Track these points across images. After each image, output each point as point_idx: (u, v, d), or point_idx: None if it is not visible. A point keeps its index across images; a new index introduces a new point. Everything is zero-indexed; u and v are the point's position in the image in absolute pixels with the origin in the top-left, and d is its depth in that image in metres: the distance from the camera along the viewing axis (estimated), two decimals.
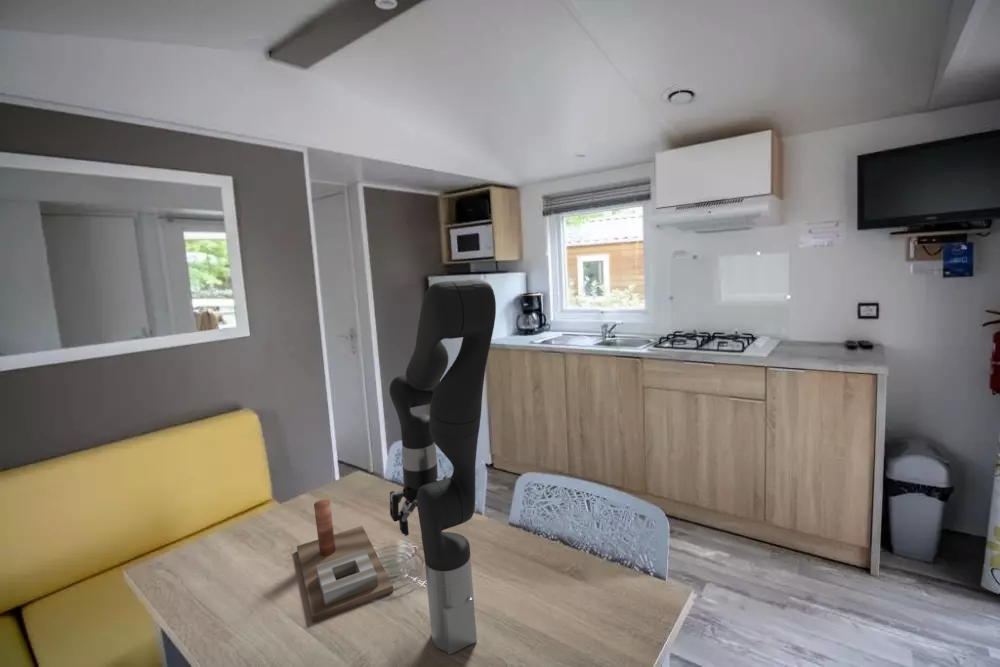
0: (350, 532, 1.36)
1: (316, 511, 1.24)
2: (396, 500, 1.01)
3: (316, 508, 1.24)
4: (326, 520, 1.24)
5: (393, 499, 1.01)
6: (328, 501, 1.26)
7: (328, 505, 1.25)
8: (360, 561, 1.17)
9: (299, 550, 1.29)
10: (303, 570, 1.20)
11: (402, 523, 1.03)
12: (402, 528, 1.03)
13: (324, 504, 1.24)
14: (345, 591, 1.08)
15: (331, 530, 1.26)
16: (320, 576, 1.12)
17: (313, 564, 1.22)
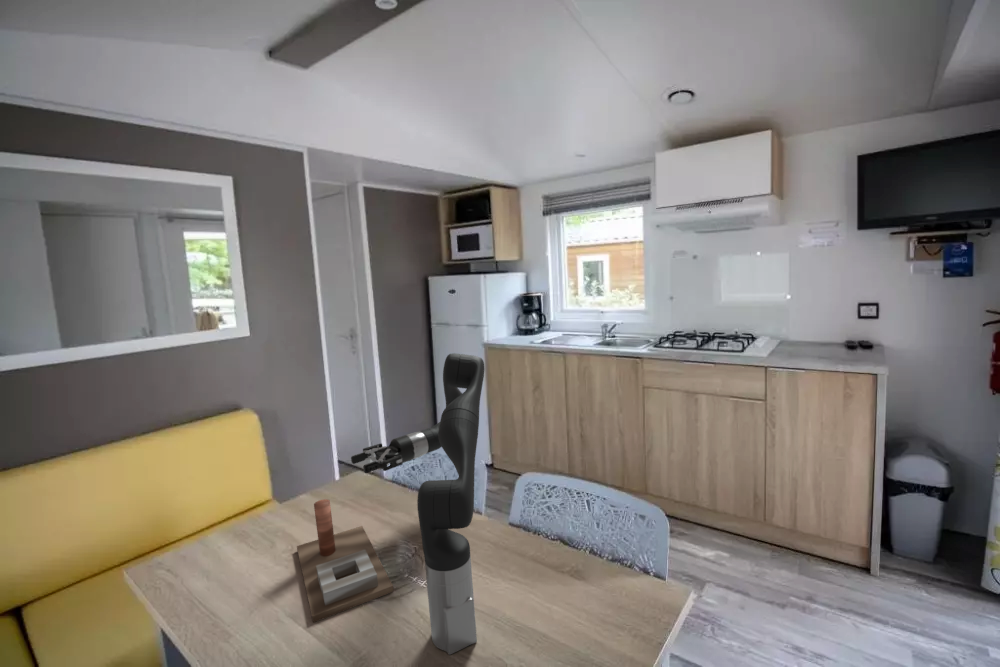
0: (350, 532, 1.36)
1: (316, 511, 1.24)
2: (378, 444, 1.41)
3: (316, 508, 1.24)
4: (326, 520, 1.24)
5: None
6: (328, 501, 1.26)
7: (328, 505, 1.25)
8: (360, 561, 1.17)
9: (299, 550, 1.29)
10: (303, 570, 1.20)
11: None
12: (356, 455, 1.36)
13: (324, 504, 1.24)
14: (345, 591, 1.08)
15: (331, 530, 1.26)
16: (320, 576, 1.12)
17: (313, 564, 1.22)
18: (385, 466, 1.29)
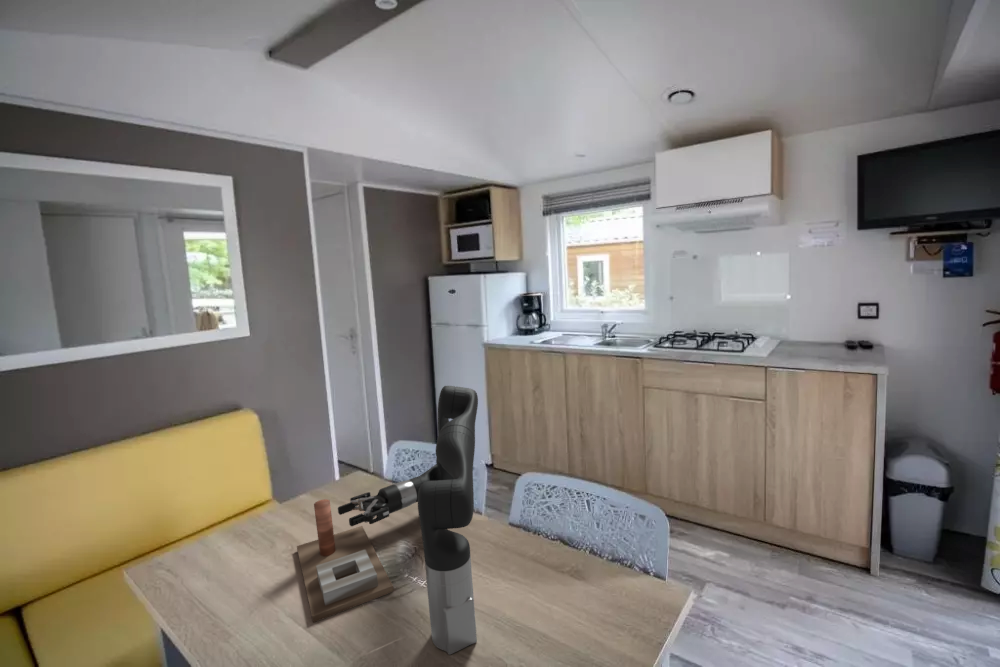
0: (350, 532, 1.36)
1: (316, 511, 1.24)
2: (366, 493, 1.40)
3: (316, 508, 1.24)
4: (326, 520, 1.24)
5: None
6: (328, 501, 1.26)
7: (328, 505, 1.25)
8: (360, 561, 1.17)
9: (299, 550, 1.29)
10: (303, 570, 1.20)
11: (348, 503, 1.35)
12: (344, 505, 1.34)
13: (324, 504, 1.24)
14: (345, 591, 1.08)
15: (331, 530, 1.26)
16: (320, 576, 1.12)
17: (313, 564, 1.22)
18: (371, 519, 1.27)
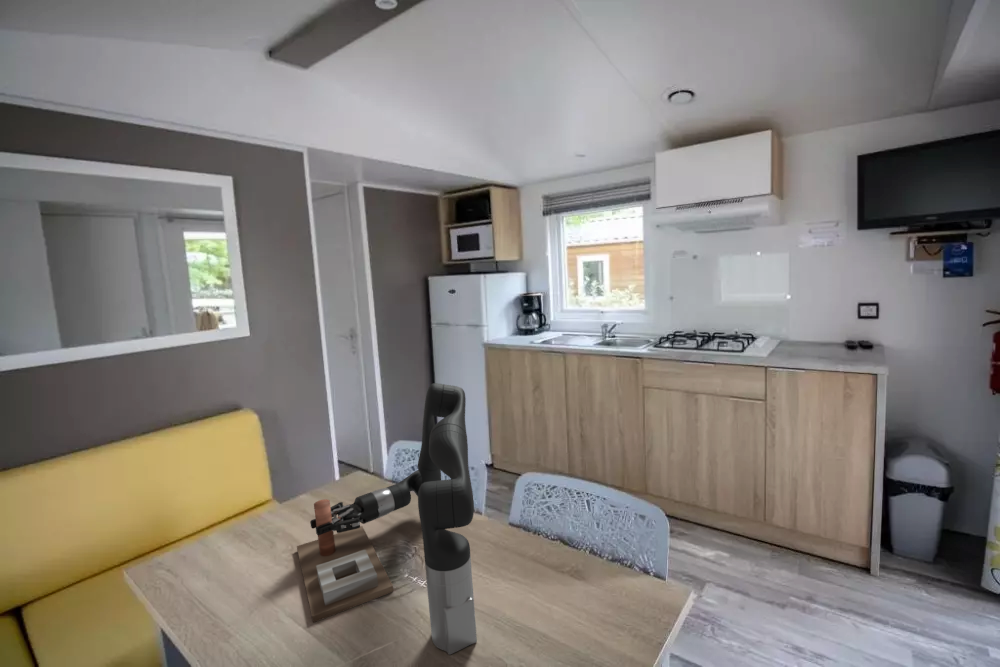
0: (350, 532, 1.36)
1: (316, 511, 1.24)
2: (339, 504, 1.34)
3: (316, 508, 1.24)
4: (326, 520, 1.24)
5: (338, 503, 1.35)
6: (328, 501, 1.26)
7: (328, 505, 1.25)
8: (360, 561, 1.17)
9: (299, 550, 1.29)
10: (303, 570, 1.20)
11: None
12: None
13: (324, 504, 1.24)
14: (345, 591, 1.08)
15: (331, 530, 1.26)
16: (320, 576, 1.12)
17: (313, 564, 1.22)
18: (339, 528, 1.23)
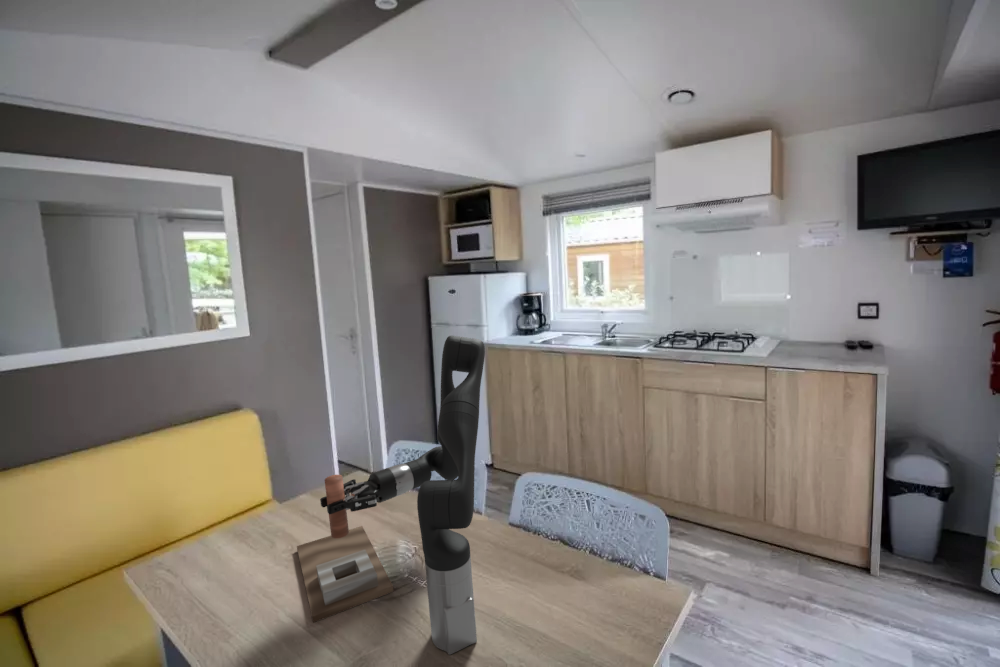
0: (350, 532, 1.36)
1: (327, 487, 1.09)
2: (352, 481, 1.20)
3: (327, 483, 1.09)
4: (339, 498, 1.10)
5: (351, 480, 1.20)
6: (340, 476, 1.11)
7: (341, 480, 1.10)
8: (360, 561, 1.17)
9: (299, 550, 1.29)
10: (303, 570, 1.20)
11: None
12: None
13: (336, 479, 1.10)
14: (345, 591, 1.08)
15: (344, 509, 1.11)
16: (320, 576, 1.12)
17: (313, 564, 1.22)
18: (353, 506, 1.09)
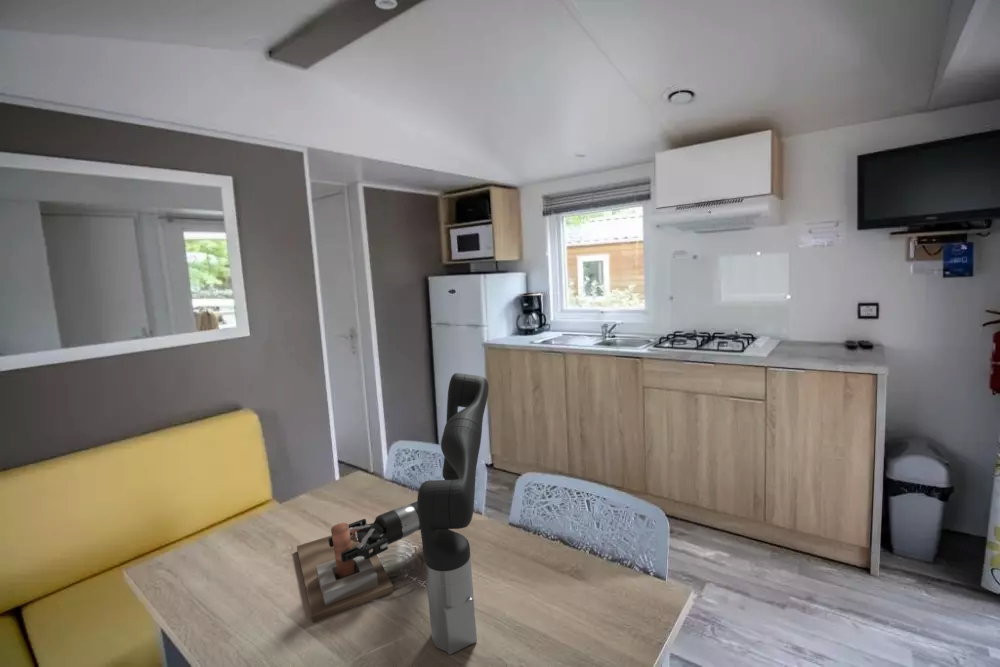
0: None
1: (334, 537, 1.11)
2: (362, 521, 1.22)
3: (333, 533, 1.11)
4: (345, 547, 1.11)
5: None
6: (347, 525, 1.13)
7: (347, 530, 1.12)
8: (360, 561, 1.17)
9: (299, 550, 1.29)
10: (303, 570, 1.20)
11: None
12: None
13: (342, 529, 1.11)
14: (345, 591, 1.08)
15: None
16: (320, 576, 1.12)
17: (313, 564, 1.22)
18: (367, 554, 1.09)
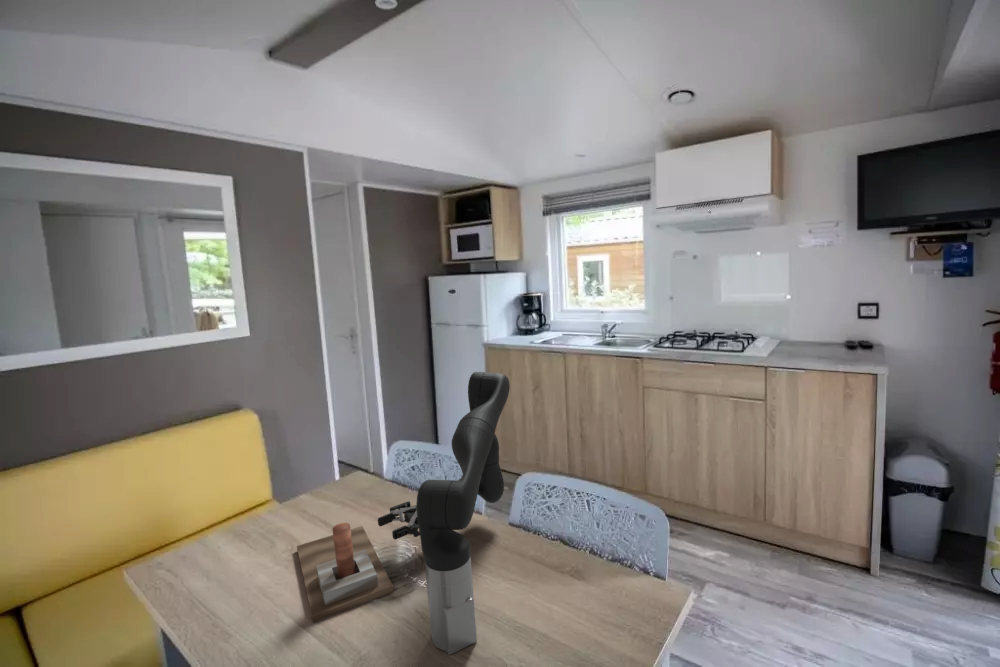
0: None
1: (335, 537, 1.11)
2: (406, 503, 1.30)
3: (335, 533, 1.11)
4: (346, 547, 1.11)
5: None
6: (348, 525, 1.13)
7: (348, 530, 1.12)
8: (360, 561, 1.17)
9: (299, 550, 1.29)
10: (303, 570, 1.20)
11: None
12: (383, 516, 1.25)
13: (344, 529, 1.11)
14: (345, 591, 1.08)
15: (351, 557, 1.13)
16: (320, 576, 1.12)
17: (313, 564, 1.22)
18: (416, 532, 1.17)
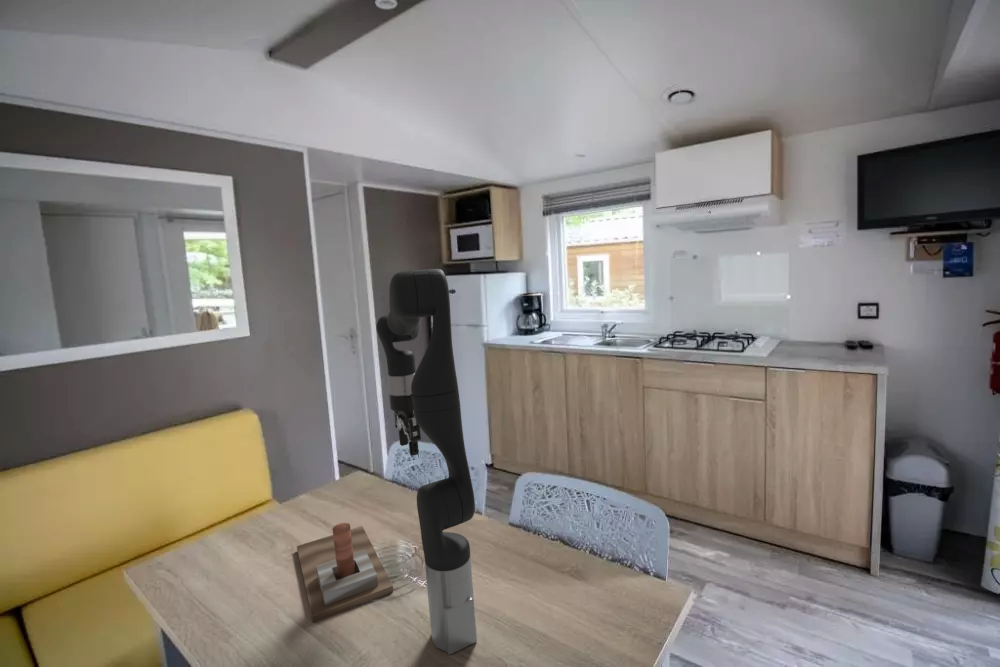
0: None
1: (335, 537, 1.11)
2: (394, 411, 1.29)
3: (335, 533, 1.11)
4: (346, 547, 1.11)
5: None
6: (348, 525, 1.13)
7: (348, 530, 1.12)
8: (360, 561, 1.17)
9: (299, 550, 1.29)
10: (303, 570, 1.20)
11: None
12: None
13: (344, 529, 1.11)
14: (345, 591, 1.08)
15: (351, 557, 1.13)
16: (320, 576, 1.12)
17: (313, 564, 1.22)
18: (416, 439, 1.18)
